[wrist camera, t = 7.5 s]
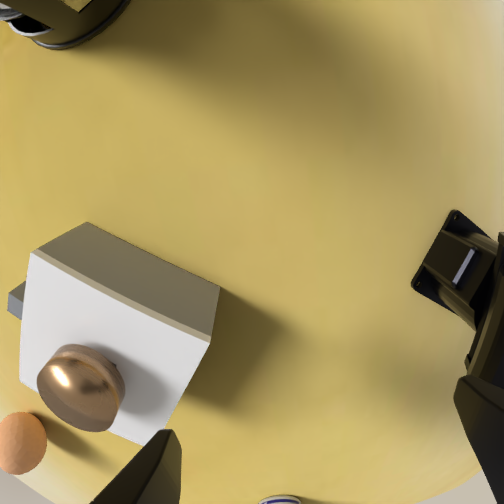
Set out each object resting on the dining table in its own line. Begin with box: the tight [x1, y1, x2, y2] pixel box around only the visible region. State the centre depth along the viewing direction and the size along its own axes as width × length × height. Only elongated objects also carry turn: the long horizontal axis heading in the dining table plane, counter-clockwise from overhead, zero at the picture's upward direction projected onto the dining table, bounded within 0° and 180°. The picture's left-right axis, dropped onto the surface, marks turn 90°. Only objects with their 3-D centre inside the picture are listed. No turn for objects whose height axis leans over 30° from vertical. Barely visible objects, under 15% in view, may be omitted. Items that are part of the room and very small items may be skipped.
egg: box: [0, 412, 47, 475], centre depth 22 cm, size 6×6×8 cm
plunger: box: [37, 344, 125, 432], centre depth 17 cm, size 5×5×8 cm
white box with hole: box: [7, 222, 220, 446], centre depth 18 cm, size 12×10×7 cm
